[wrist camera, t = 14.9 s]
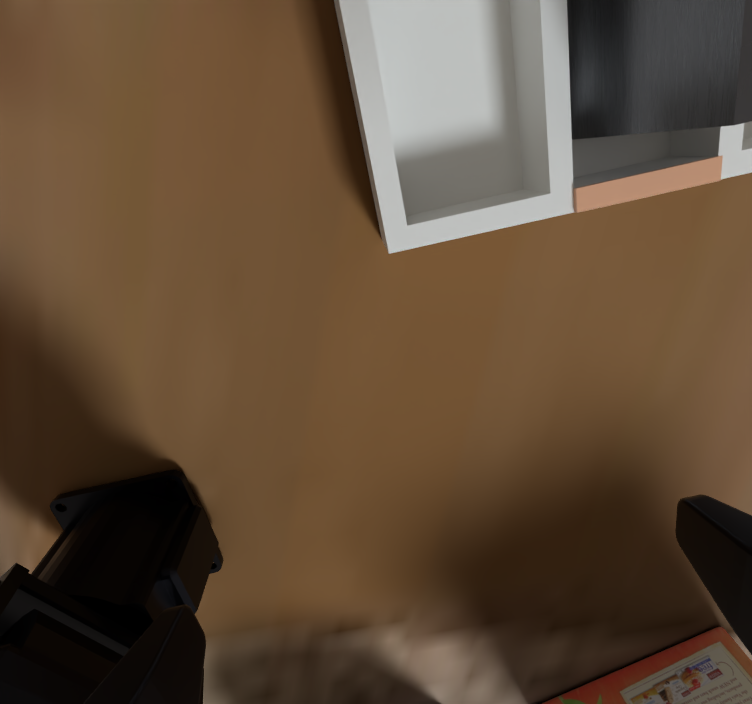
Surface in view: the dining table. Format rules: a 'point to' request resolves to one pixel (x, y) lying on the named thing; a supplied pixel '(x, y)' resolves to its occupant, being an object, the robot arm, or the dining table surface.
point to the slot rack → (496, 122)
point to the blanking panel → (658, 65)
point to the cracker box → (676, 676)
